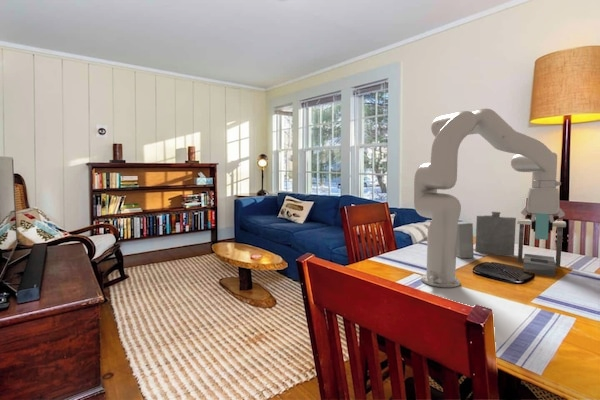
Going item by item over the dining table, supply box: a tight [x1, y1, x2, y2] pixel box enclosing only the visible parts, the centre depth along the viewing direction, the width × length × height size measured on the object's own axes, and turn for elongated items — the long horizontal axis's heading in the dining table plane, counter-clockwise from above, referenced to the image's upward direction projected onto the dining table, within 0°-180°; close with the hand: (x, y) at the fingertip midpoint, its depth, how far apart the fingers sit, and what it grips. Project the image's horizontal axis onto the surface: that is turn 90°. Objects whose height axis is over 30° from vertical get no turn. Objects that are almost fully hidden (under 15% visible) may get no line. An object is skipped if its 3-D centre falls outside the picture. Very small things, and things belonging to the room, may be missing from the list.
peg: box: [534, 213, 550, 241], centre depth 132 cm, size 4×4×10 cm
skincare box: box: [456, 220, 475, 259], centre depth 155 cm, size 8×7×16 cm
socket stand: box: [516, 218, 567, 278], centre depth 135 cm, size 18×16×18 cm
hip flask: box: [474, 211, 517, 257], centre depth 159 cm, size 16×4×20 cm, turn 60°
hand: (541, 231), depth 132 cm, fingers closed on peg, 4 cm apart
